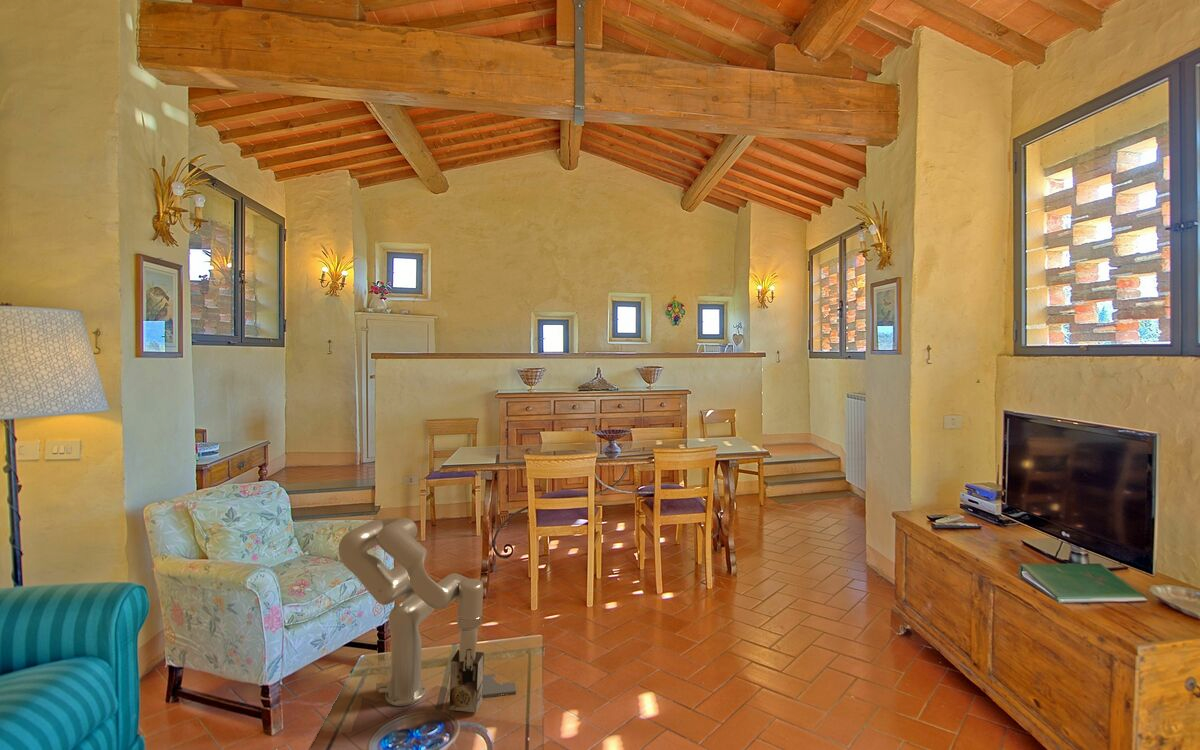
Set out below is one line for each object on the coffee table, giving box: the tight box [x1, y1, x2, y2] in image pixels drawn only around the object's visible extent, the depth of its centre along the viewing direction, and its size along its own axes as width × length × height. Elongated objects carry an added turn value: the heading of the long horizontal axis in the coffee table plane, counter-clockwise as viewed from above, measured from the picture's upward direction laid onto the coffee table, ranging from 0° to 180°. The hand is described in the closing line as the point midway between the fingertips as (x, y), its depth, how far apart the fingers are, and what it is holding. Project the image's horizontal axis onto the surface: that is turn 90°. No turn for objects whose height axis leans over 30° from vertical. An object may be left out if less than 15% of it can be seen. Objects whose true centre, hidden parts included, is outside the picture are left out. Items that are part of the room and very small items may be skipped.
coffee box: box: [448, 649, 485, 713], centre depth 174 cm, size 9×6×16 cm
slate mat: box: [482, 673, 517, 699], centre depth 186 cm, size 11×11×1 cm
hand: (467, 673), depth 174 cm, fingers closed on coffee box, 7 cm apart
